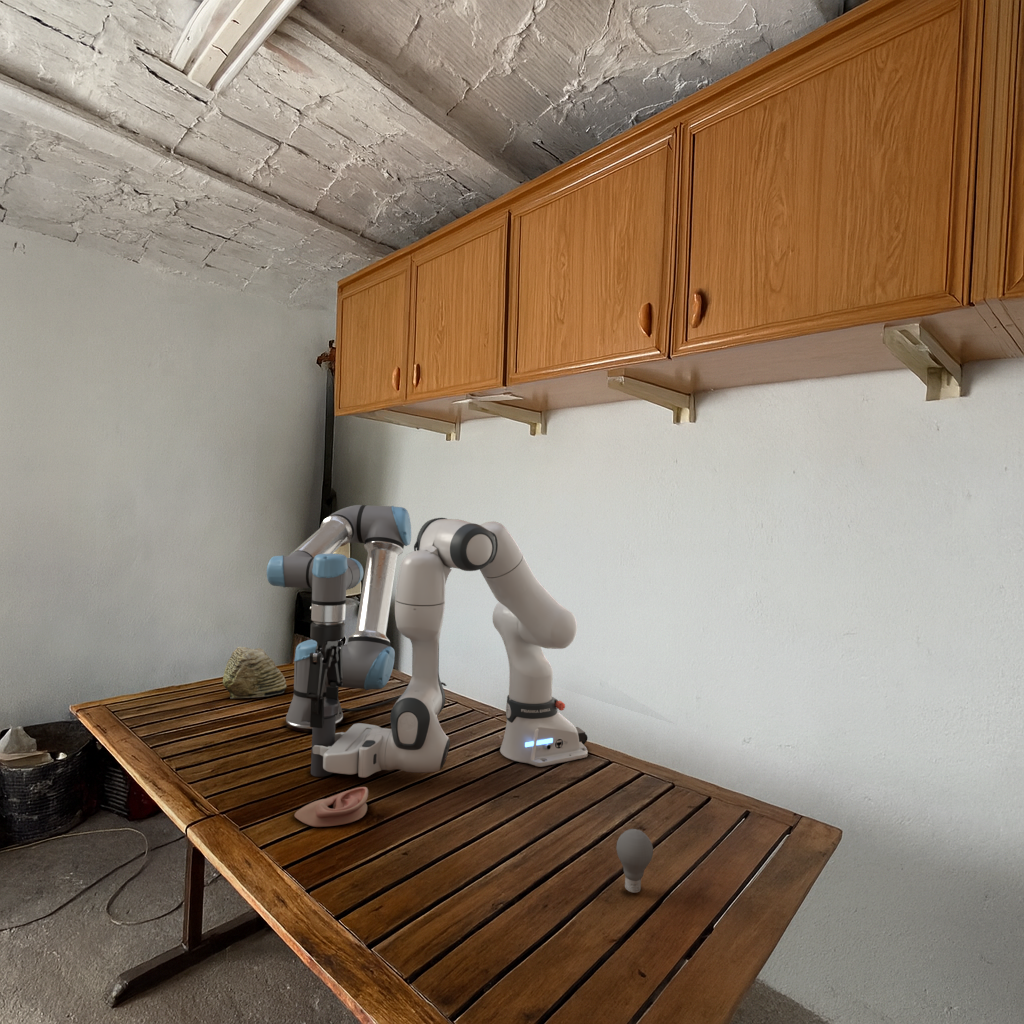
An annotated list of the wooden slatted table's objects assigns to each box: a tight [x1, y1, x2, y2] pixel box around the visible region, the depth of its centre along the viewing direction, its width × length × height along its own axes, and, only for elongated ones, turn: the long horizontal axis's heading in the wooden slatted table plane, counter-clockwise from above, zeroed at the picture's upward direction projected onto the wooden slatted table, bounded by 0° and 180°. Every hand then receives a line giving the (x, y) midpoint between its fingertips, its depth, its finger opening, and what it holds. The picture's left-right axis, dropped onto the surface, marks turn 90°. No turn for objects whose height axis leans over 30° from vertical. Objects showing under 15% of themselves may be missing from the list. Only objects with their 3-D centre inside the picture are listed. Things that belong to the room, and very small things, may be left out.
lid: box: [324, 699, 338, 716], centre depth 145 cm, size 6×6×2 cm
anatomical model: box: [294, 786, 369, 828], centre depth 127 cm, size 13×4×12 cm
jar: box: [310, 714, 336, 778], centre depth 145 cm, size 5×5×15 cm
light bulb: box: [615, 828, 654, 894], centre depth 106 cm, size 6×6×10 cm
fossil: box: [222, 646, 288, 699], centre depth 198 cm, size 9×18×15 cm, turn 132°
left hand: (324, 720), depth 145 cm, fingers open, 8 cm apart
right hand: (319, 743), depth 145 cm, fingers closed on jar, 5 cm apart
